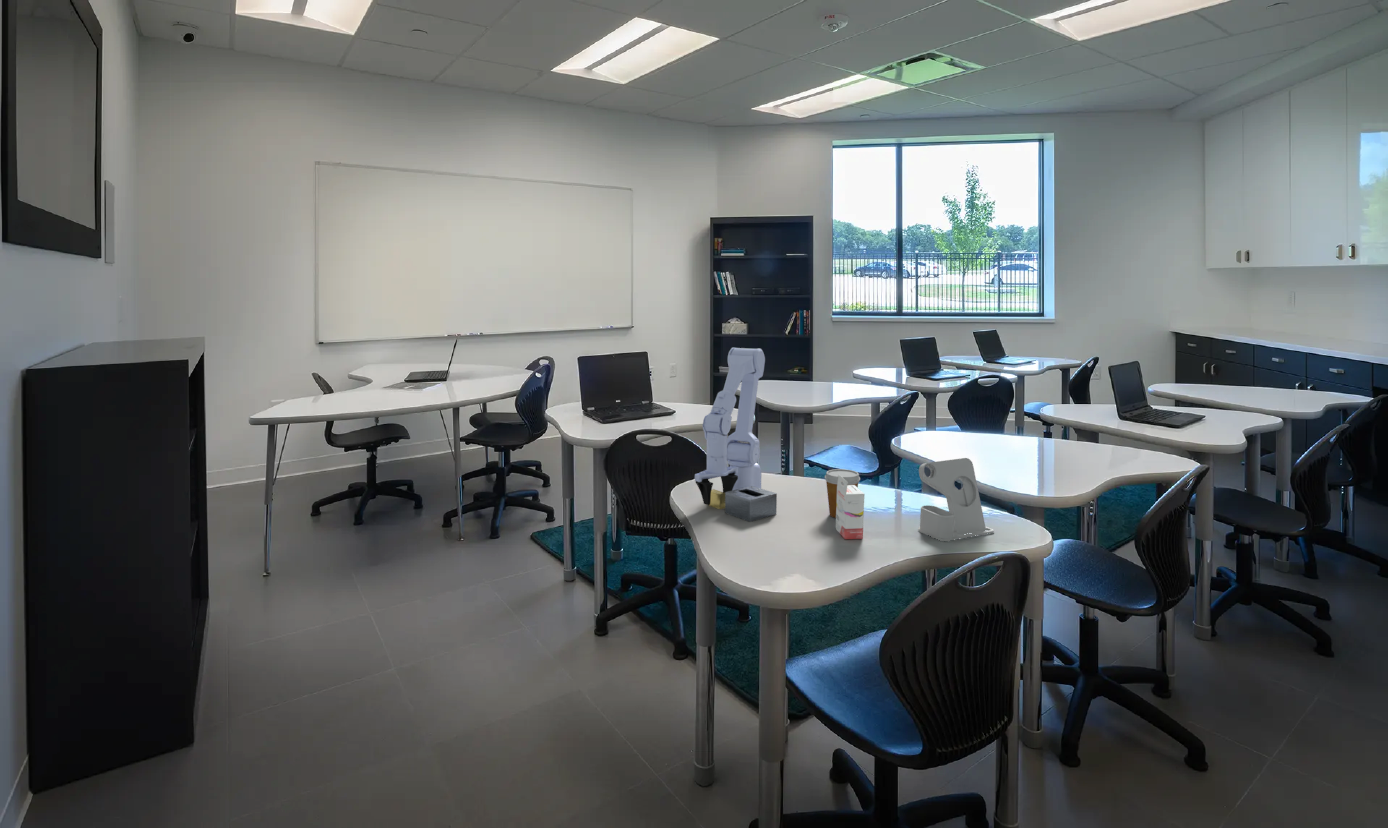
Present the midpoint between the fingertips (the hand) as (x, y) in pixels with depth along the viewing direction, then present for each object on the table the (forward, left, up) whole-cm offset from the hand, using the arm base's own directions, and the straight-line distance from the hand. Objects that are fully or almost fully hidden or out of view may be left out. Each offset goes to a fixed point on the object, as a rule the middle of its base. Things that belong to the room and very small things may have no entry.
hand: (716, 501), depth 204 cm
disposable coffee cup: (-21, +28, -2) cm, 35 cm away
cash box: (-3, +11, -1) cm, 11 cm away
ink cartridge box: (-11, +39, -2) cm, 41 cm away
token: (0, 0, -2) cm, 2 cm away
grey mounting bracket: (-33, +55, -2) cm, 64 cm away
